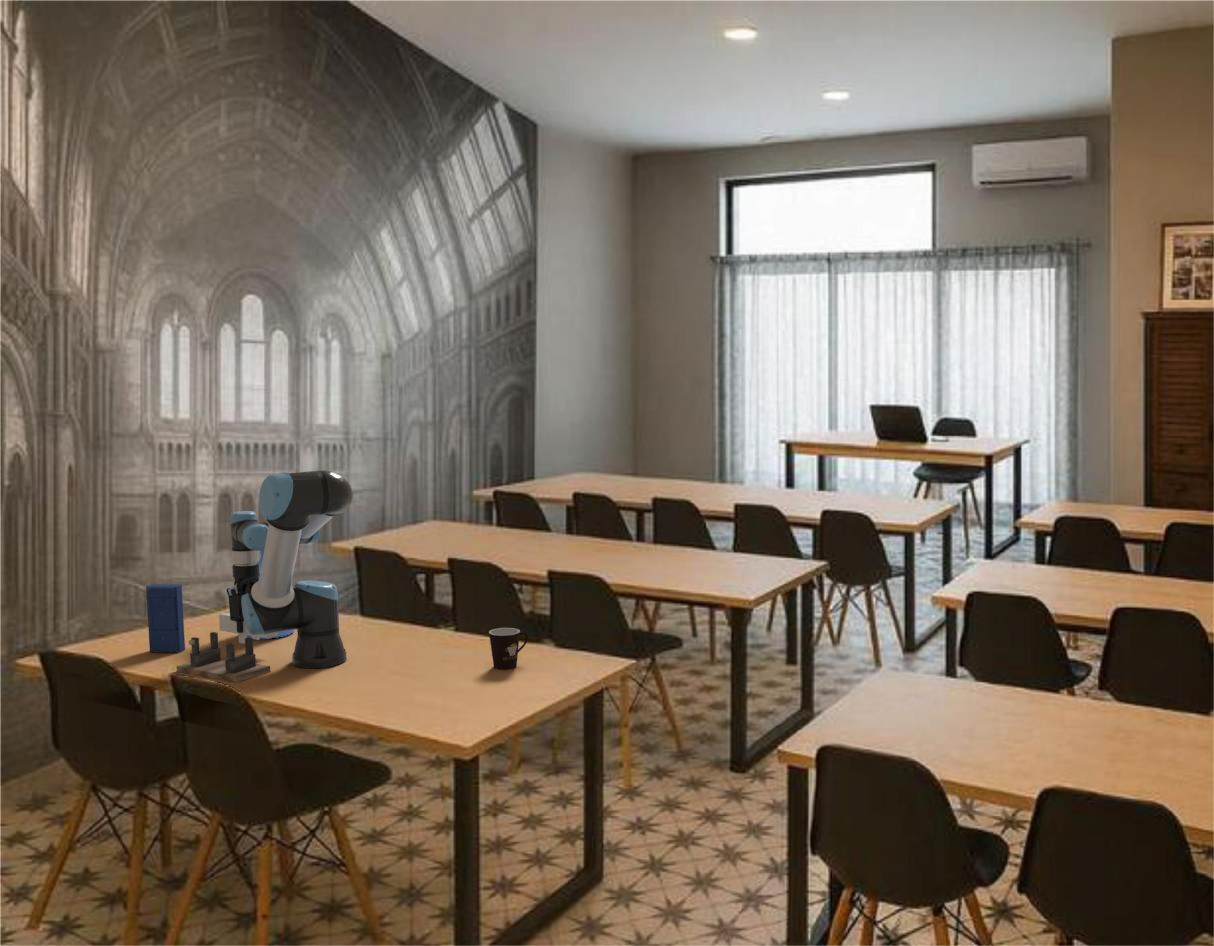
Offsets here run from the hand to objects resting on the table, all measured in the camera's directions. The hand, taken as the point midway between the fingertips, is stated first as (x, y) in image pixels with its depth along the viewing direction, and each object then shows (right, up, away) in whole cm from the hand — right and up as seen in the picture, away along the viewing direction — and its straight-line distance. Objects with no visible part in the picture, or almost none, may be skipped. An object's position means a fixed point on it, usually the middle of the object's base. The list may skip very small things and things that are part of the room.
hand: (249, 640), depth 337 cm
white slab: (0, +2, 0) cm, 2 cm away
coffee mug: (+79, -4, -19) cm, 82 cm away
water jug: (-1, -1, +22) cm, 23 cm away
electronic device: (-26, -4, +3) cm, 26 cm away
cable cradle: (-1, -6, -20) cm, 21 cm away
